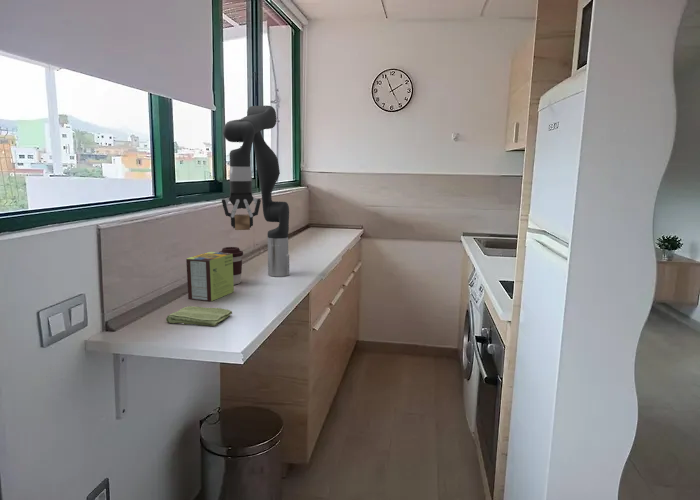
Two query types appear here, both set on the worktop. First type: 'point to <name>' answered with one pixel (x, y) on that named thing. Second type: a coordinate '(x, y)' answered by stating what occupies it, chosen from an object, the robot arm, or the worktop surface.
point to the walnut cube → (242, 222)
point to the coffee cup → (235, 262)
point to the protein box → (210, 276)
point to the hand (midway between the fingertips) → (242, 227)
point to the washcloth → (199, 316)
